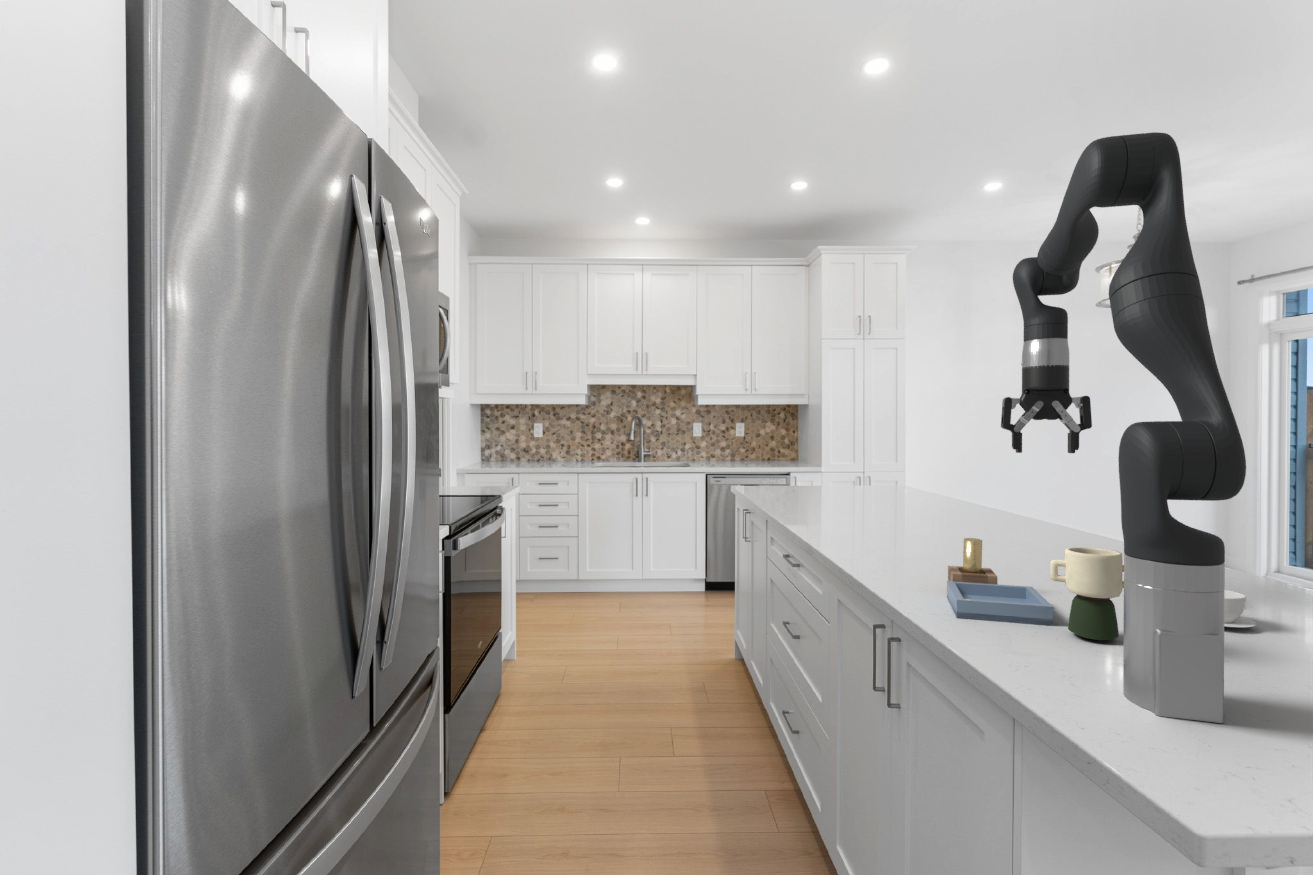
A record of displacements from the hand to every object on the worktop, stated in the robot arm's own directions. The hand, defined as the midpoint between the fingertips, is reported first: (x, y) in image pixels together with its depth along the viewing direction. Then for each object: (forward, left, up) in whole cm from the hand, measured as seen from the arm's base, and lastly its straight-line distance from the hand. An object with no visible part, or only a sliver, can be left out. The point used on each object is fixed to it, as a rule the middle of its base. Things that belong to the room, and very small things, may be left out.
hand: (1044, 452), depth 119 cm
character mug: (-24, -1, -27) cm, 36 cm away
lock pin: (+1, +12, -27) cm, 29 cm away
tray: (-12, +10, -27) cm, 31 cm away
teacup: (-8, -23, -27) cm, 36 cm away
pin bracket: (+1, +12, -27) cm, 29 cm away
